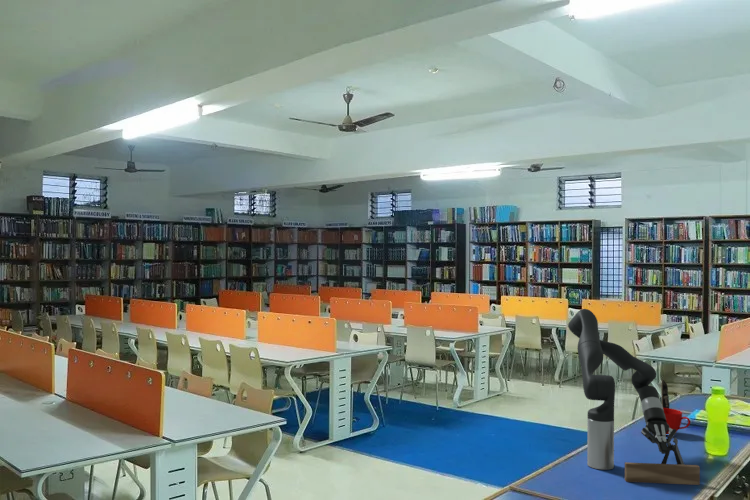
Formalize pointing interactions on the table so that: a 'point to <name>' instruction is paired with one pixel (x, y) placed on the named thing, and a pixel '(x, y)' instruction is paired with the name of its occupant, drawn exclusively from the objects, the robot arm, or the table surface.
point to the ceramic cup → (674, 419)
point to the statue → (664, 395)
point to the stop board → (662, 473)
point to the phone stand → (674, 449)
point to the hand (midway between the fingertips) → (664, 452)
